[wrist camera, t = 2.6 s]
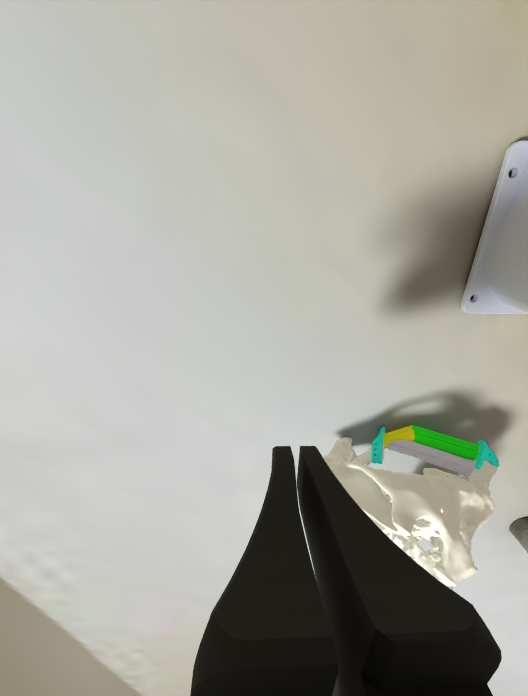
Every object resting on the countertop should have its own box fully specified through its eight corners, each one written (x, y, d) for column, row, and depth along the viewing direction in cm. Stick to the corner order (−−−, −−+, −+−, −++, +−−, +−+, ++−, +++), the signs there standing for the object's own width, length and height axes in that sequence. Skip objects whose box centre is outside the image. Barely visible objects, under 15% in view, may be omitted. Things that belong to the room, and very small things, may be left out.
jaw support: (521, 508, 24) (496, 643, 19) (409, 475, 31) (369, 567, 26) (486, 396, 19) (441, 532, 14) (365, 387, 26) (307, 478, 21)
